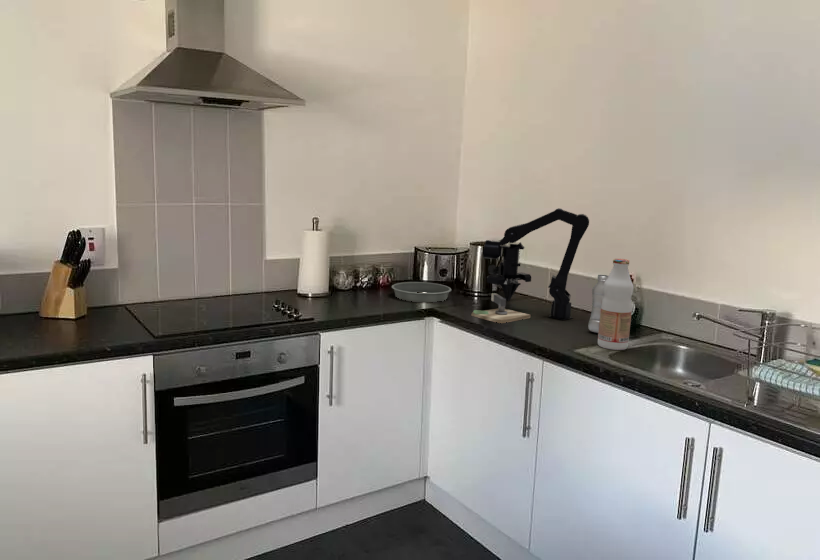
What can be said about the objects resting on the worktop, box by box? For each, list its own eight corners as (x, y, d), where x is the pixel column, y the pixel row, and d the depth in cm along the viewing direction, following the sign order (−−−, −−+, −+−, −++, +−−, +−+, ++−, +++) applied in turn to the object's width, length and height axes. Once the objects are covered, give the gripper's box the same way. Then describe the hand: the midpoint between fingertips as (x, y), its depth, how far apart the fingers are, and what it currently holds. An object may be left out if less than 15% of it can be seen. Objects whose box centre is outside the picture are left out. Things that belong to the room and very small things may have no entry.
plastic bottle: (592, 329, 241) (598, 273, 238) (610, 333, 237) (616, 276, 233) (584, 332, 236) (589, 275, 233) (603, 336, 232) (608, 277, 229)
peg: (506, 311, 252) (506, 299, 251) (499, 310, 251) (500, 299, 251) (496, 304, 262) (497, 293, 261) (490, 304, 262) (491, 293, 261)
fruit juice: (597, 348, 216) (605, 260, 211) (597, 341, 225) (605, 256, 220) (628, 351, 213) (637, 262, 209) (627, 344, 222) (636, 259, 218)
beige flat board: (530, 318, 254) (530, 312, 254) (499, 323, 242) (499, 318, 242) (496, 309, 266) (497, 304, 266) (465, 314, 254) (466, 309, 254)
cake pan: (392, 290, 295) (392, 280, 295) (449, 293, 295) (449, 283, 295) (390, 302, 271) (390, 291, 270) (452, 305, 271) (452, 294, 270)
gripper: (512, 256, 270) (509, 295, 273) (477, 258, 259) (475, 298, 262) (533, 260, 262) (530, 300, 264) (498, 262, 250) (495, 304, 253)
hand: (507, 300), depth 261 cm, fingers closed
